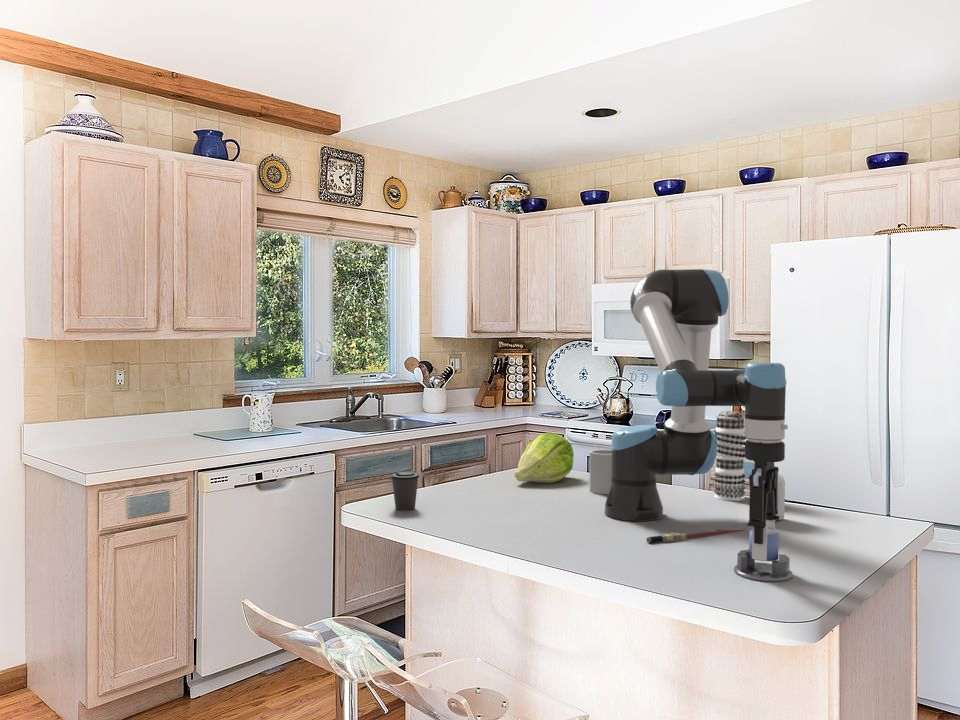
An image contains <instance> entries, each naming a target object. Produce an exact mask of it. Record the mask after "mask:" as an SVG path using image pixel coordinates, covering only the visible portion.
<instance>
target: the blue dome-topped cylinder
mask: <svg viewBox="0 0 960 720" xmlns="http://www.w3.org/2000/svg"><path fill="white" fill-rule="evenodd" d="M748 537H749V538H748V539H749V540H748V541H749V543H748V549H749V557H750V558H752V529H750V530H749V536H748ZM779 537H780V536H779V532H778V531H776V529H775V530H773V529H768V528H767V561H766V562H772V561H777V560H779V543H780V542H779V540H780V538H779ZM755 561H758V560H757V559H755ZM759 561H761V562H764V561H763V560H759Z"/></svg>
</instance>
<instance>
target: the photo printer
mask: <svg viewBox="0 0 960 720" xmlns="http://www.w3.org/2000/svg"><path fill="white" fill-rule="evenodd" d="M785 492H786V481H785V478H784V476H783V475H782V474H780V473H778V514H777V515H776V516H779V520H778V521H780V520H784V519H785V499H786V497H785V495H786V493H785ZM773 521H775V522H776V521H777V520H773Z"/></svg>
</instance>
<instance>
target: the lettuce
mask: <svg viewBox="0 0 960 720" xmlns="http://www.w3.org/2000/svg"><path fill="white" fill-rule="evenodd" d="M574 454H575V453H574V448H573V446H572V444H571V443H570V441H569V440H568V439H566V438H565V437H564V436H561V435H560V434H557V433H555V432H551V431H549V432H546V433H542V434H540V435H538V436H537V437H535V438H534V439H533V440H531V441H530V442H529V443H528V444H527V445H526V448H525V449H524V451H523V453H522V454H521V456H520V459H519V461H518V465H517V468H516V470H515V472H514V477H515V480H517V482H534V483H538V484H540V483H544V484H553V483H557V481H558V482H560V480H562V479H564V478H565V477H566V476H568V474H569V473H571V471H572V470H573V466H574V465H573V464H574V456H575V455H574Z"/></svg>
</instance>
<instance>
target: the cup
mask: <svg viewBox="0 0 960 720" xmlns="http://www.w3.org/2000/svg"><path fill="white" fill-rule="evenodd" d="M611 484H612V450H611V449H593V450H590V451H589V488H588V489H589V491H588V492H590V493H591V494H595V493H596V495H604V494H609V491H610V488H611Z"/></svg>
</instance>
